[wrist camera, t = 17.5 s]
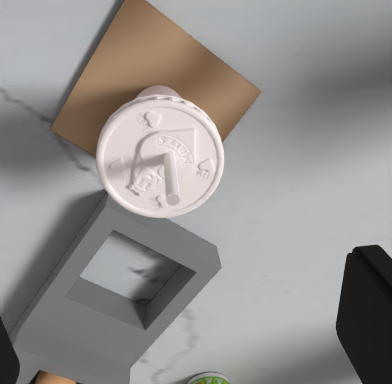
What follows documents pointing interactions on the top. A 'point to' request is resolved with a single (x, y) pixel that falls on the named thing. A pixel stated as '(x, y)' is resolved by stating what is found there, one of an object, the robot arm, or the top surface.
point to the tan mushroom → (51, 379)
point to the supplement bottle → (209, 379)
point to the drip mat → (150, 76)
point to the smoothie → (159, 154)
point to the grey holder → (107, 302)
